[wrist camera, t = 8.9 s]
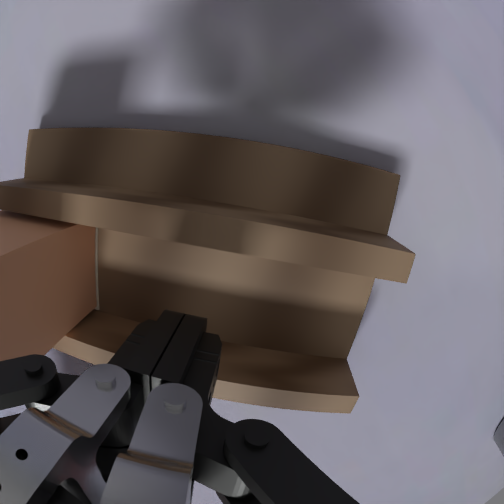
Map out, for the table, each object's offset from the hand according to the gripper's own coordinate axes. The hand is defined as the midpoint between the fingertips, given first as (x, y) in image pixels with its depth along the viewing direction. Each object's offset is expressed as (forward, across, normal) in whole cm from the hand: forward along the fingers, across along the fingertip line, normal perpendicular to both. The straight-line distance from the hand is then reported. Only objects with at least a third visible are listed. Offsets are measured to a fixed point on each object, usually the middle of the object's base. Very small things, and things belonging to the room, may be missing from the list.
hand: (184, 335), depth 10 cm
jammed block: (+4, +9, 0) cm, 10 cm away
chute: (+5, +2, 0) cm, 6 cm away
